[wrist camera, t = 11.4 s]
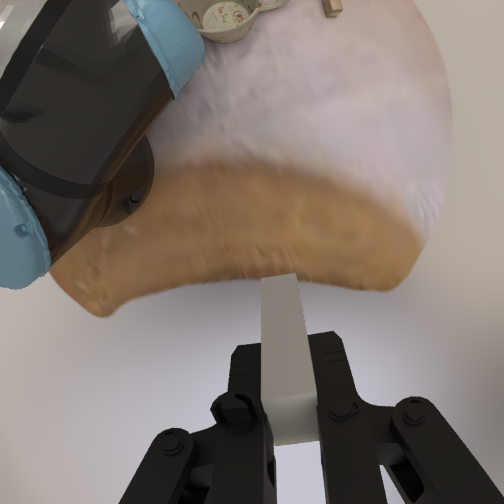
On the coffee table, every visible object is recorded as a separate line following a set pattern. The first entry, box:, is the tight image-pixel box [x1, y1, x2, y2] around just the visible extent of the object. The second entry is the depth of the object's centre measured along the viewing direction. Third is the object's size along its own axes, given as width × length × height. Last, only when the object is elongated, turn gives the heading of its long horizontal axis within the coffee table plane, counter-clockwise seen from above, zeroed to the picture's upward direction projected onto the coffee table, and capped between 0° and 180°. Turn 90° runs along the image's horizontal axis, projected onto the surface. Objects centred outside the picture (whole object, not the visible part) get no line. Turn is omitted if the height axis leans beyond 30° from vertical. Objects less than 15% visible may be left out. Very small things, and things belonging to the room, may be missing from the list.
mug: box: [173, 0, 290, 43], centre depth 25 cm, size 8×13×10 cm, turn 110°
